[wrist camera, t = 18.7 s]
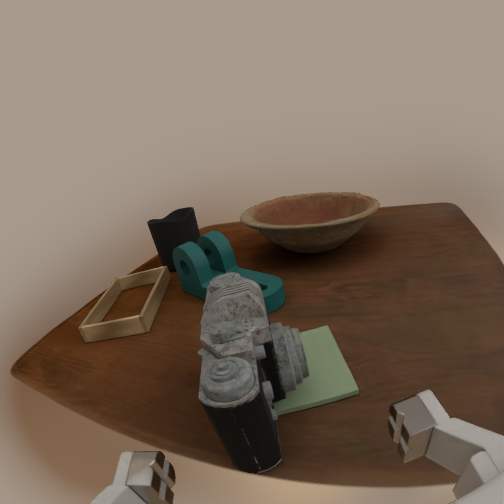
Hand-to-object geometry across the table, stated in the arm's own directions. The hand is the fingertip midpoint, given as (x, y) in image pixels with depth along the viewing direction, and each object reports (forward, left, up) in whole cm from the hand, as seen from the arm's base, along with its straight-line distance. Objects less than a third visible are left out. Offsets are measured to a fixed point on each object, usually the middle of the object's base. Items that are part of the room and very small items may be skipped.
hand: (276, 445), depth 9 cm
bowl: (+11, +46, -11) cm, 48 cm away
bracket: (-4, +35, -11) cm, 36 cm away
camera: (-1, +12, -10) cm, 16 cm away
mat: (+1, +16, -11) cm, 19 cm away
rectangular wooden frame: (-21, +38, -11) cm, 44 cm away
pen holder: (-14, +54, -11) cm, 56 cm away
